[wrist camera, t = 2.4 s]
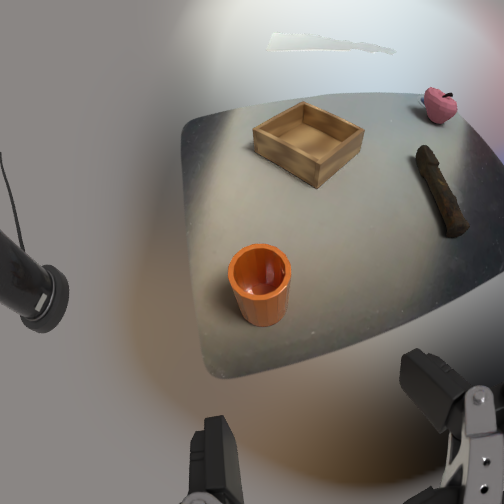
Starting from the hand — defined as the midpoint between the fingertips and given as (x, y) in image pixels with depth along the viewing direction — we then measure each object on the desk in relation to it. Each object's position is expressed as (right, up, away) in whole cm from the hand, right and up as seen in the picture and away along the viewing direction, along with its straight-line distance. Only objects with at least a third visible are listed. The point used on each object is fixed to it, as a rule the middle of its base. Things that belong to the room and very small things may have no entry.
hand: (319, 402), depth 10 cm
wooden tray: (+7, +24, +36) cm, 44 cm away
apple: (+43, +39, +41) cm, 72 cm away
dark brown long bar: (+28, +16, +29) cm, 44 cm away
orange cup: (-1, 0, +22) cm, 22 cm away
